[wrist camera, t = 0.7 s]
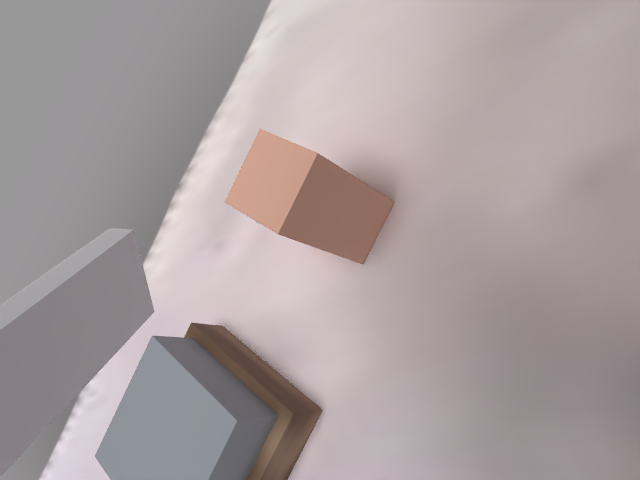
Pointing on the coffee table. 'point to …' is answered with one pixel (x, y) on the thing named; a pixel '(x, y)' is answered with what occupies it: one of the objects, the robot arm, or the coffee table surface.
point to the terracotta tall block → (308, 198)
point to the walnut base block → (274, 391)
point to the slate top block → (184, 419)
